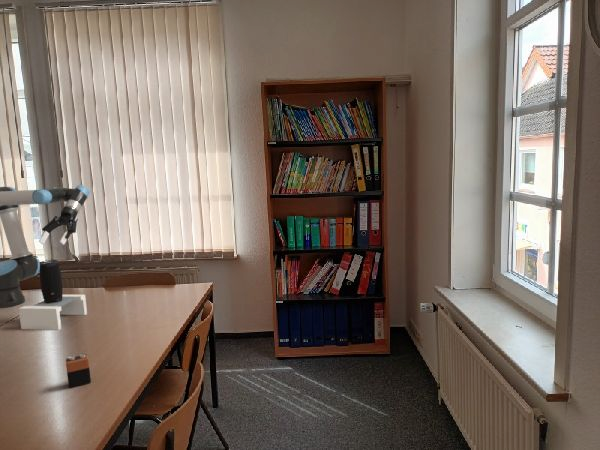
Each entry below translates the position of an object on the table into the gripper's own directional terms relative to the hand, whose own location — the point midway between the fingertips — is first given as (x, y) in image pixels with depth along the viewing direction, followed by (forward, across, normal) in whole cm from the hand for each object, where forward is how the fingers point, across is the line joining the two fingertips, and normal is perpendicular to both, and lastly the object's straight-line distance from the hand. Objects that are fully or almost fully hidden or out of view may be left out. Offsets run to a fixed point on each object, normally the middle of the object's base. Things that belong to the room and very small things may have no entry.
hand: (51, 243), depth 236 cm
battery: (+70, -74, +19) cm, 103 cm away
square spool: (+35, -12, -15) cm, 40 cm away
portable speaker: (+28, -12, -9) cm, 32 cm away
